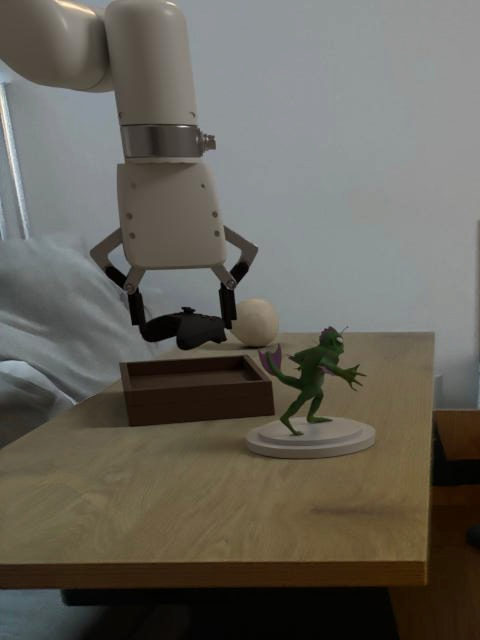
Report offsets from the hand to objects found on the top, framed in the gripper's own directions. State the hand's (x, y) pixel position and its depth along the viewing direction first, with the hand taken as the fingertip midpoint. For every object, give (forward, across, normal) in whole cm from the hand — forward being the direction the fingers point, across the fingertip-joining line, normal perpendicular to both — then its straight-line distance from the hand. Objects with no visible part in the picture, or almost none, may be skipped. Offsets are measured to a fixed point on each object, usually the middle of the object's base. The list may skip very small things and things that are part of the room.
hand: (185, 329), depth 105 cm
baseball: (+8, -12, -37) cm, 40 cm away
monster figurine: (+8, -9, +22) cm, 25 cm away
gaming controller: (+2, 0, 0) cm, 2 cm away
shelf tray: (+8, 0, 0) cm, 8 cm away
